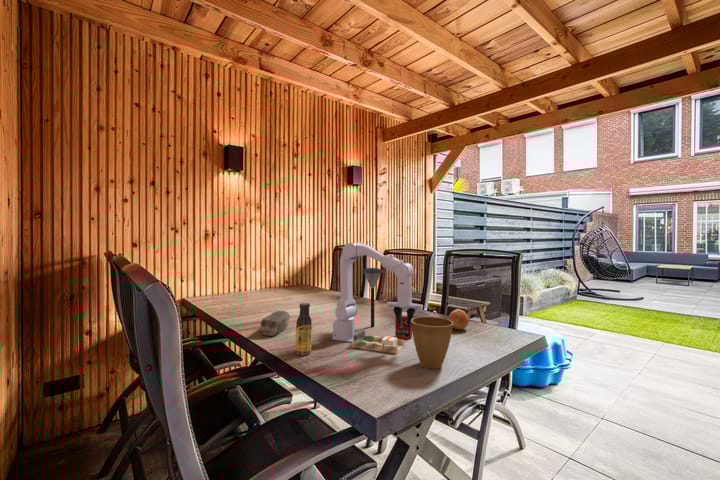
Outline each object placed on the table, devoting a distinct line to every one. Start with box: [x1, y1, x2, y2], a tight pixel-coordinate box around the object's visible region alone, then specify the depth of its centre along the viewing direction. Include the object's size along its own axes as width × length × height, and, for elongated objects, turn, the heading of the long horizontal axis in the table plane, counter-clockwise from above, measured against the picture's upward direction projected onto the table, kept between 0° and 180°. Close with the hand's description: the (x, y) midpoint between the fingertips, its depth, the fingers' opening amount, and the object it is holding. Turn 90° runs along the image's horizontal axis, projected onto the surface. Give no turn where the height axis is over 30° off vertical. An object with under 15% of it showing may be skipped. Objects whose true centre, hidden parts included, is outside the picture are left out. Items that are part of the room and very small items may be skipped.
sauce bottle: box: [294, 302, 313, 357], centre depth 134 cm, size 7×6×20 cm
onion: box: [447, 308, 470, 331], centre depth 169 cm, size 10×10×10 cm
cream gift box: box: [382, 334, 397, 346], centre depth 140 cm, size 5×6×4 cm
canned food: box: [394, 311, 413, 341], centre depth 155 cm, size 8×8×11 cm
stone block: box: [259, 310, 291, 337], centre depth 166 cm, size 20×9×10 cm
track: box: [351, 329, 406, 355], centre depth 142 cm, size 20×10×5 cm, turn 66°
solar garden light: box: [360, 267, 385, 328], centre depth 174 cm, size 12×12×30 cm
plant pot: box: [411, 316, 454, 370], centre depth 122 cm, size 15×15×16 cm
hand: (404, 326), depth 138 cm, fingers open, 3 cm apart
